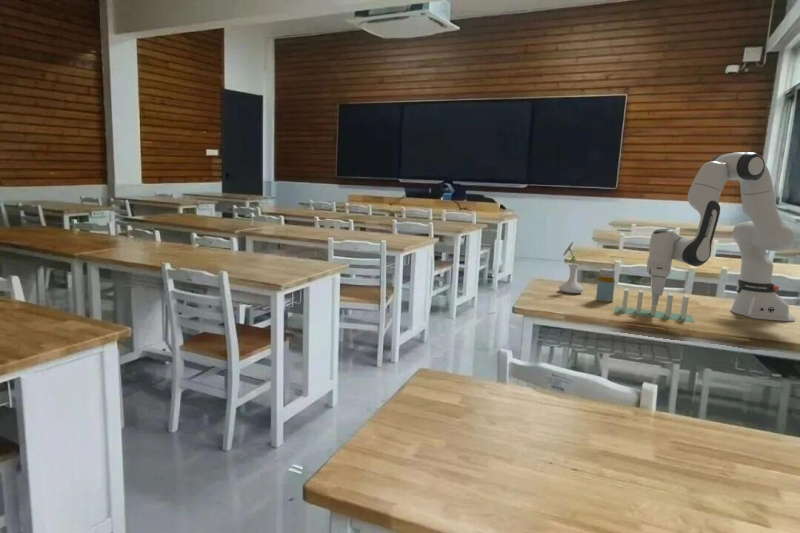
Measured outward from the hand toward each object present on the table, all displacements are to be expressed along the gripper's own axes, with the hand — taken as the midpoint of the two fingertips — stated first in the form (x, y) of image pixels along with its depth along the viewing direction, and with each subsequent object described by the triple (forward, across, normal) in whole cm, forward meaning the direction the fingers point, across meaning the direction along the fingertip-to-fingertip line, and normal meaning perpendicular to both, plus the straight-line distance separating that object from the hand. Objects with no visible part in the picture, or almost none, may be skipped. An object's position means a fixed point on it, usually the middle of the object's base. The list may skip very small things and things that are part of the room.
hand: (654, 301), depth 216 cm
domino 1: (+5, 0, -6) cm, 8 cm away
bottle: (+6, -14, -20) cm, 25 cm away
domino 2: (+5, 0, 0) cm, 5 cm away
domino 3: (+5, 0, +6) cm, 8 cm away
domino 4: (+5, 0, +11) cm, 12 cm away
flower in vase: (+6, -26, -36) cm, 44 cm away
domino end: (+5, 0, -11) cm, 12 cm away
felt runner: (+6, 0, 0) cm, 6 cm away
